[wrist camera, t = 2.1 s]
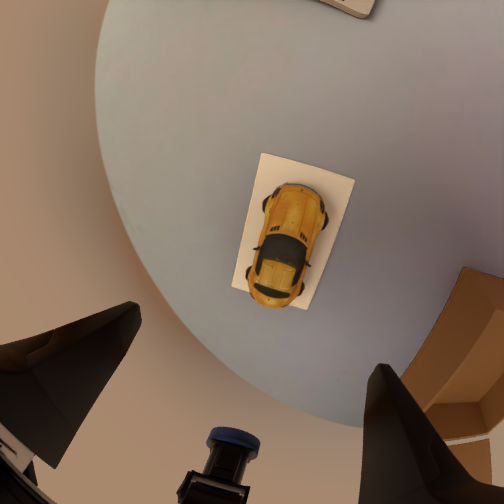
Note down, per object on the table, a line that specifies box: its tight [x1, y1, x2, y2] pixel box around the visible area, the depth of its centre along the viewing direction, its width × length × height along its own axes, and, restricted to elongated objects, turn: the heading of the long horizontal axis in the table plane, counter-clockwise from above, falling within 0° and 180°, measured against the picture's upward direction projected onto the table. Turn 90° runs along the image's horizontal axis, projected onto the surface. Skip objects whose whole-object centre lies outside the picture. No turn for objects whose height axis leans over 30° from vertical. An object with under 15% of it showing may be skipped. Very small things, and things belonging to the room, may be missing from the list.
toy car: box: [232, 153, 355, 310], centre depth 17 cm, size 4×8×2 cm, turn 167°
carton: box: [400, 267, 504, 441], centre depth 15 cm, size 16×15×6 cm
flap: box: [448, 439, 492, 485], centre depth 13 cm, size 8×15×1 cm
